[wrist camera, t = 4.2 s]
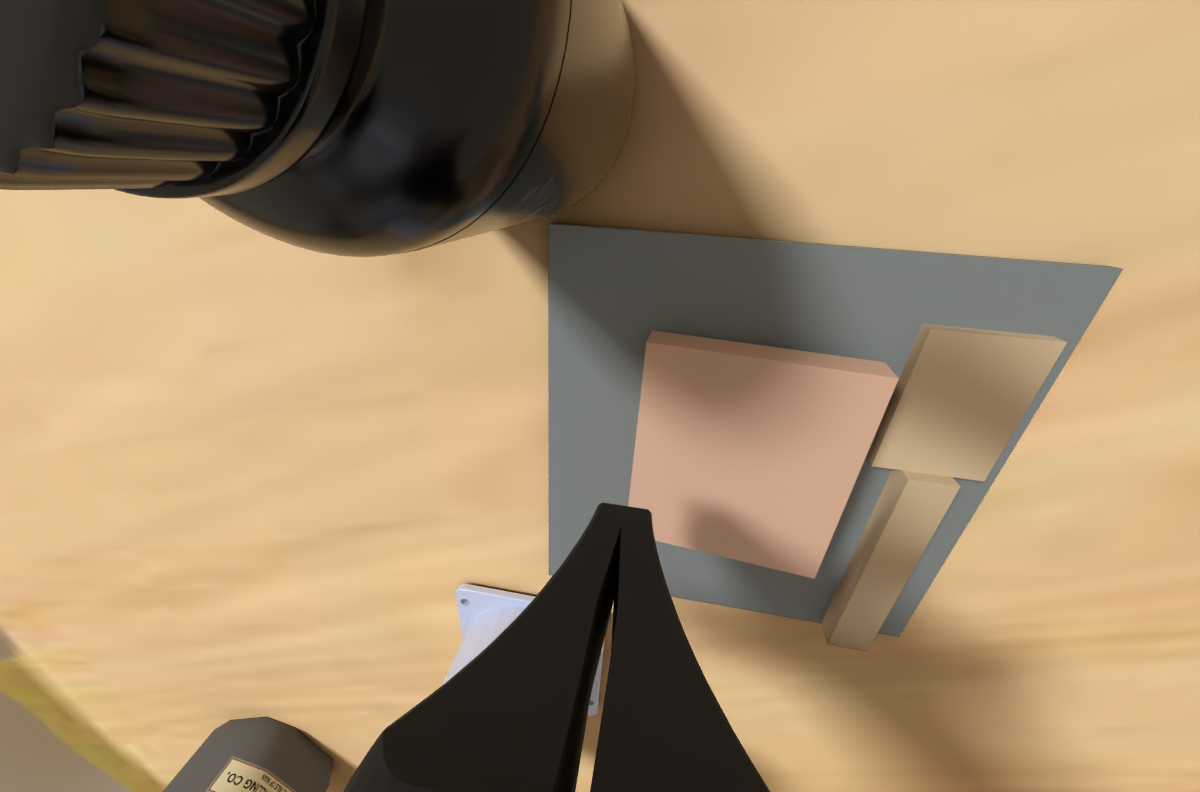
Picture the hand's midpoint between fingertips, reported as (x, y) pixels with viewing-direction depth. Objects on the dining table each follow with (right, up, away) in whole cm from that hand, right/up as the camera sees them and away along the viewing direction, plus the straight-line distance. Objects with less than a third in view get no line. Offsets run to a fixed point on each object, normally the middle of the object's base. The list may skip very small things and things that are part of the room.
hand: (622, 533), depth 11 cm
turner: (+11, -1, +5) cm, 12 cm away
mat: (+5, +1, +5) cm, 7 cm away
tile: (+1, +2, +4) cm, 5 cm away
